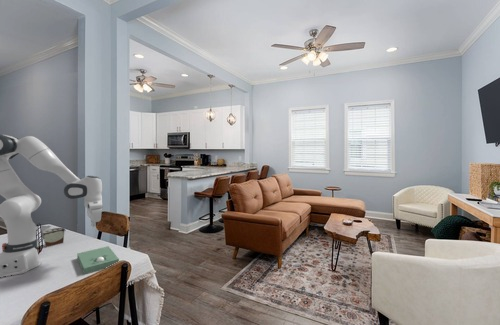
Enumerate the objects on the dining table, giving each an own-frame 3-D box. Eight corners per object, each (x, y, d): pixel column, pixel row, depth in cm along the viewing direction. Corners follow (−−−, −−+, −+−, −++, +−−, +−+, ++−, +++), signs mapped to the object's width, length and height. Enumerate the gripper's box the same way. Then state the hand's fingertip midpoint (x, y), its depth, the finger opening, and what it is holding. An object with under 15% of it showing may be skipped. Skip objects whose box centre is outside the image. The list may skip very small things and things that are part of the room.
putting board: (84, 274, 121) (84, 268, 121) (77, 258, 138) (77, 253, 138) (118, 264, 132) (118, 259, 132) (108, 250, 149) (108, 246, 149)
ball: (97, 267, 129) (96, 262, 128) (95, 262, 132) (95, 256, 130) (105, 264, 132) (104, 259, 130) (104, 259, 134) (103, 254, 133)
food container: (62, 240, 166) (62, 226, 166) (65, 242, 163) (65, 228, 162) (40, 246, 156) (39, 231, 156) (42, 248, 153) (42, 233, 152)
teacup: (47, 240, 166) (47, 229, 165) (24, 243, 161) (24, 231, 160) (54, 233, 179) (54, 223, 179) (33, 236, 174) (33, 225, 174)
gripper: (84, 200, 146) (84, 223, 146) (90, 206, 131) (90, 231, 131) (96, 199, 150) (96, 221, 151) (103, 205, 135) (103, 229, 136)
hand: (93, 226), depth 141 cm, fingers closed
